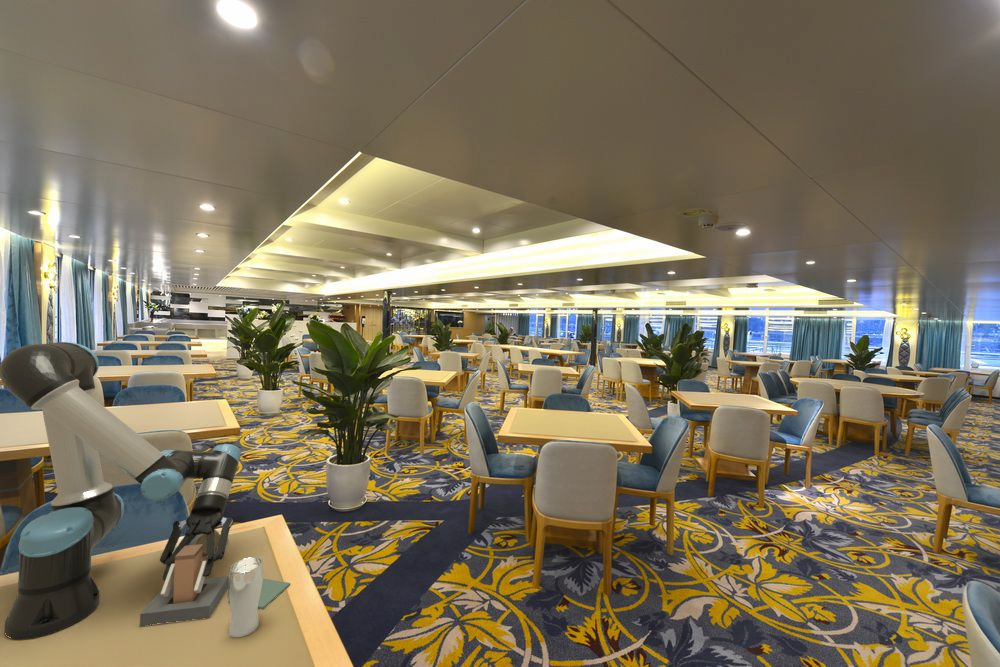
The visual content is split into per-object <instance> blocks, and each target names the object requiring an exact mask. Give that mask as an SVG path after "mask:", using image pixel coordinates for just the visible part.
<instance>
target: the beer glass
mask: <svg viewBox="0 0 1000 667" xmlns="http://www.w3.org/2000/svg"><path fill="white" fill-rule="evenodd" d="M263 564H264V563H263V559H262V558H261V557H257V556H250V557H245V558H241V559H238V560H237V561H235V562H234V563H232V564H231V565H230V567H229V574H228V576H229V580H228V588H227V596H228V597H227V598H228V602H229V603H228V604H229V607H230V616H231V618H230V623H229V627H228V635H229V637H231V638H237V639H238V638H243V637H246V636H249V635H250V634H252V633H253V632H255V631H256V630H257V629H258V628H259V626H260V620H259V616H258V615H259V614H258V610H259V609H258V603H259V599H260V595H261V590H262V584H263V579H264V567H263Z"/></svg>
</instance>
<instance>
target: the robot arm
mask: <svg viewBox="0 0 1000 667" xmlns="http://www.w3.org/2000/svg"><path fill="white" fill-rule="evenodd" d="M99 366H100V363H99V358H98V356H97V354H95V352H94V351H93V350H92V349H90V348H89V347H87V346H85V345H83V344H81V343H76V342H69V341H68V342H67V341H64V342H63V341H62V342H61V341H59V342H58V341H57V342H52V343H37V344H35V343H34V344H28V345H24V346H21V347H18V348H16V349H14V350H12V351H10V352H9V353H8V354H6V356H5V357H4V358H3V359H2V360H1V363H0V380H1V382H2V384H3V386H5V388H6V389H7V390H8V391H9V392H10V393H11V394H12V395H13V396H14V397H16V398H17V399H18V400H19V401H20V402H21V403H23V404H25V405H26V406H27V407H28V408H30V409H31V410H33V411H34V410H37V411H38V410H42V412H41V413H42V416H43V422H44V427H45V431H46V433H45V434H46V437H47V442H48V448H49V453H50V454H49V455H50V459H51V463H52V468H53V474H54V478H55V485H56V489H57V495H56V496H55V497H54V498H53V500H52V501H50V505H51V511H50V512H49V513H48V514H43V515H40V516H38V517H36V518H35V519H33V520H31V521H30V522H29V523H27V525H25V526H24V528H22V531H21V533H20V539H19V542H18V547H17V548H18V578H17V579H18V586H17V588H18V590H17V595H16V598H15V600H14V602H13V604H12V607H11V609H10V611H9V614H8V615H7V617H6V620H5V623H4V634H5V633H6V635H7V636H9V637H11V638H13V639H12V640H29V639H34V638H40V637H43V636H47V635H50V634H54V633H55V632H59V631H62V630H64V629H66V628H68V627H70V626H73V625H75V624H77V623H78V622H80V621H82V620H83V619H86V617H88V616H89V615H91V614H92V613H93V612H94V611H96V609H97V607H98V606H99V604H100V596H101V595H100V589H99V588H98V586H97V584H96V582H95V580H94V578H93V575H92V574H91V573H92V572H91V570H92V569H91V568H92V567H91V566H92V551H93V549H94V548H95V546H97V545H98V544H100V542H101V541H102V540H103V539H104V538H105V537H106V536H108V535H109V534H110V533H111V532H112V531H113V530H114V529H115V528H116V527H117V526H118V524H119V522H120V520H121V519H122V517H123V515H124V512H125V503H124V500H123V498H122V497H121V496H120V495H119V494H117V493H115V491H114V487H113V484H111V483H109V482H106V481H104V475H103V470H102V469H103V468H102V464H101V459H100V458H101V457H100V455H102V456H104V457H105V459H107V460H109V461H110V462H111V463H113V464H114V465H115V466H116V467H118V468H120V470H122V471H123V472H124V473H126V474H127V475H128V476H130V478H131V477H132V479H134V480H135V481H136V482H138V483H139V484H140V492H141V494H142V496H143V497H144V498H145V499H146V500H149V501H152V502H161V501H165V500H168V499H169V498H171V497H173V495H175V494H176V493H177V492H178V491H180V489H181V488H182V487H183V485H184V484H185V483H186V482H187V480H188V479H192V480H193V479H194V480H201V479H202V481H201V483H200V486H199V488H198V491H197V493H196V494H197V495H196V498H195V500H194V503H193V506H192V509H191V511H190V515H188V517H187V518H186V519H185V520H182V521H178V520H175V521H174V522H173V523H172V531H171V534H170V536H169V538H168V540H167V542H166V545H165V547H164V549H163V552H162V553H161V555H160V557H159V562H160V563H161V564H163V565H166V566H165V569H164V572H163V575H162V580H163V581H164V584H163V586H162V588H163V589H162V588H161V589H162V592H161V595H163V596H164V597H168V596H169V593H170V590H171V587H172V584H173V582H174V570H175V556H176V555H177V554H178V553H179V552H180V551H181V549H182V548H183V547H184V546H187V545H189V544H190V542H191V541H192V540H193V539H194V538H195V537H196V535H200V534H206V542H207V554H206V558H205V559H207V560H202V565H201V569H200V572H199V575H198V578H197V581H196V585H195V588H194V591H195V592H196V593H201V590H202V586H203V583H204V580H205V578H206V577H208V578H209V577H210V575H211V574H212V570H213V566H214V563H215V562H216V561H219V560H223V559H224V557H225V553H226V549H227V548H226V547H227V544H228V541H227V539H228V540H229V533H230V529H231V528H232V526H233V524H234V520H233V518H232V517H224V512H225V509H226V506H227V502H228V500H227V499H228V498H229V496H230V492H231V489H232V486H233V481H234V479H235V477H236V476H235V475H236V472H237V469H238V467H239V461H240V458H241V454H242V452H241V449H240V448H239V447H238V446H236V445H234V444H230V443H223V444H217V445H216V446H214V447H213V449H212V450H211V451H197V450H196V451H195V450H194V451H193V450H182V449H181V450H180V449H165V450H162V451H160V450H159V449H158V448H157V447H155V446H154V445H153V444H151V443H150V442H149V441H147V440H146V439H145V438H144V437H142V436H141V435H140V434H138V432H137V431H135V430H133V429H132V427H130V426H129V425H128V424H126V423H125V422H123V421H122V420H121V419H120V418H119V417H118V416H116V415H115V414H114V413H112V412H111V411H110V410H109V409H107V408H106V407H104V405H102V404H101V403H100V402H99V401H97V400H96V399H94V397H92V396H91V394H92V393H93V392H94V391H95V390H96V385H95V380H94V377H95V376H96V374H97V373H98V371H99V368H100V367H99ZM220 524H221V526H222V527H221V531H220V533H219V534H220V539H219V543H218V546H217V547H216V549H215V544H214V536H215V533H214V529H216V528H218V526H220ZM186 526H187V527H188V529H187V530H186V532H185V533H184V536H183V538H182V539H181V540H180V542H179V538H180V537H181V535H182V531H183V530H185V527H186ZM178 542H179V544H178V545H177V543H178ZM215 550H216V551H215ZM6 635H5V636H6ZM11 638H10V639H11Z"/></svg>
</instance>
